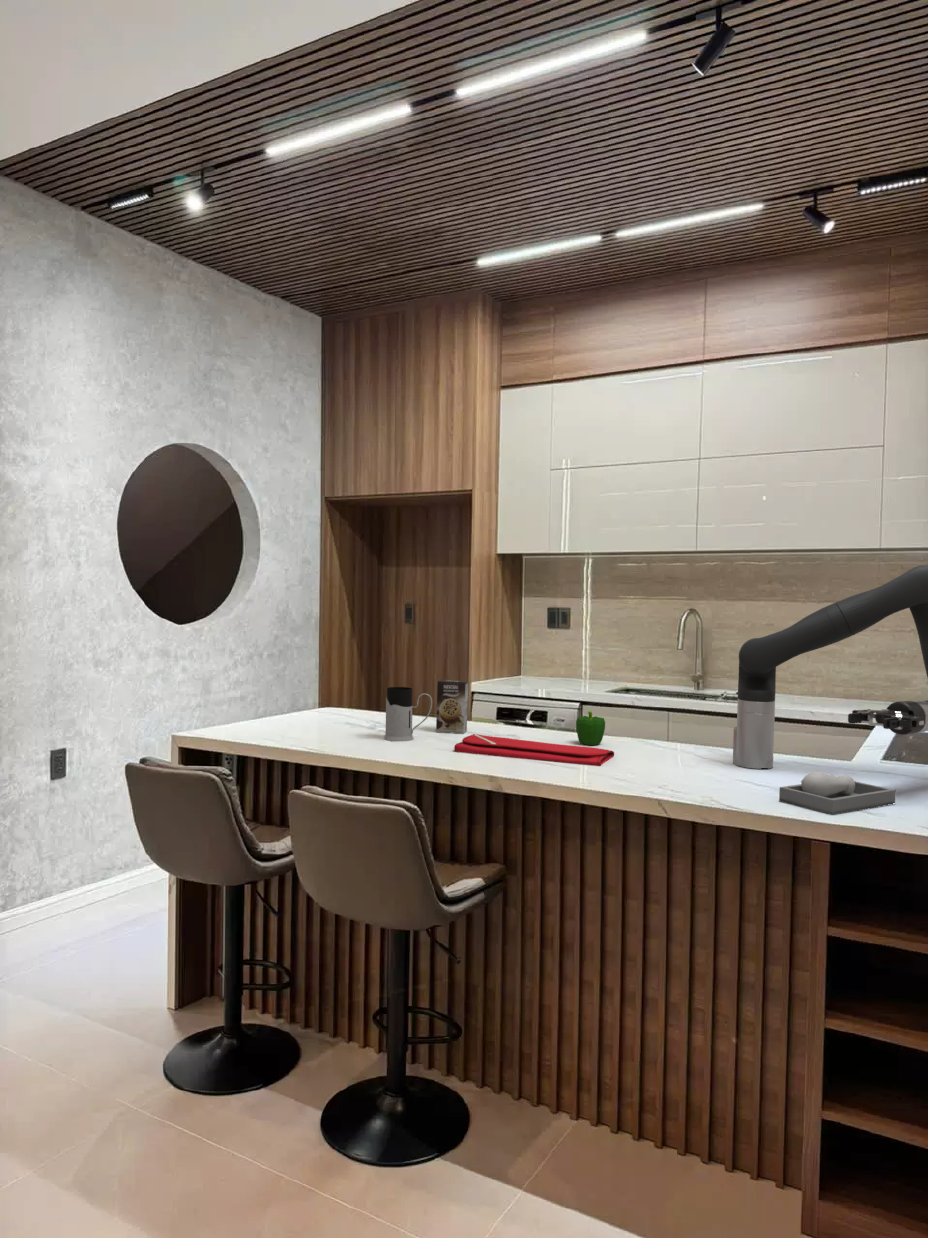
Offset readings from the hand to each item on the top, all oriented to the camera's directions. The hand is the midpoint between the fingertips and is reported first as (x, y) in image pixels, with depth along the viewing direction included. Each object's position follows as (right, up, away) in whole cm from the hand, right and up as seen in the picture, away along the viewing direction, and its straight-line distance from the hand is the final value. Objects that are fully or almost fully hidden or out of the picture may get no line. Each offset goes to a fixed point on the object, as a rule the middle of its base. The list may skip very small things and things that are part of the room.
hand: (867, 721), depth 189 cm
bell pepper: (-52, -15, +63) cm, 83 cm away
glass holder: (-105, -13, +65) cm, 124 cm away
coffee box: (-92, -13, +81) cm, 123 cm away
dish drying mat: (-70, -15, +45) cm, 84 cm away
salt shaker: (-15, -13, -5) cm, 21 cm away
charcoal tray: (-8, -17, -4) cm, 19 cm away
